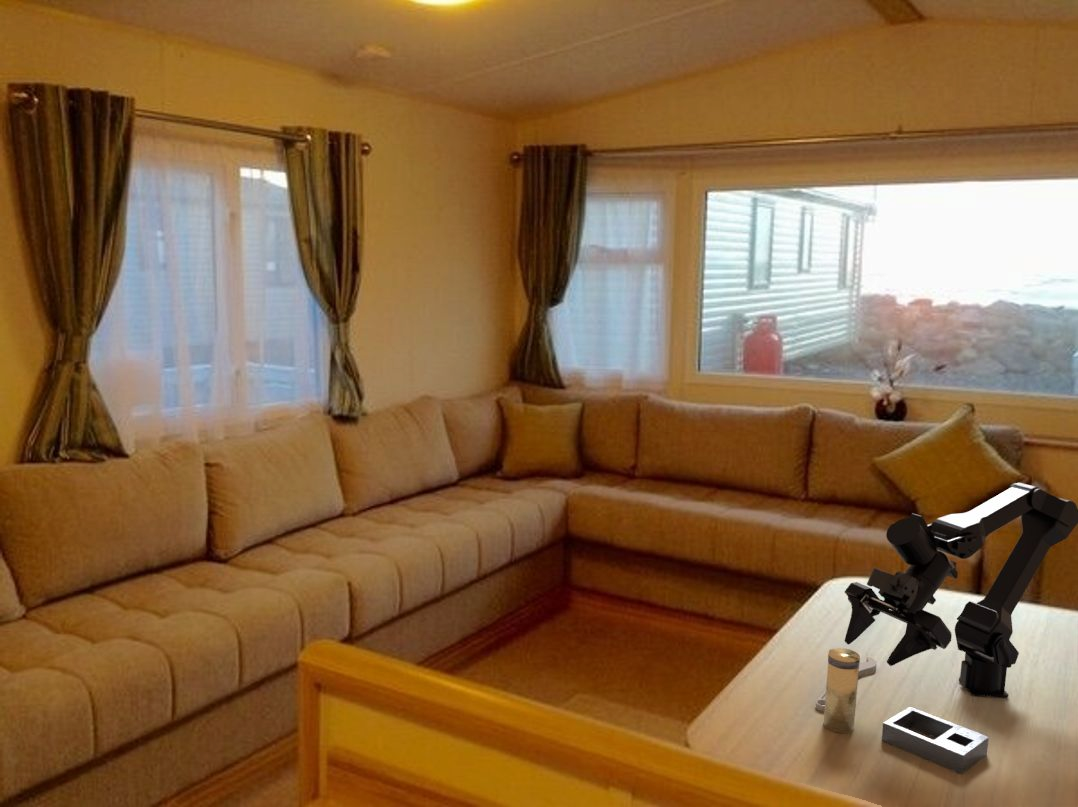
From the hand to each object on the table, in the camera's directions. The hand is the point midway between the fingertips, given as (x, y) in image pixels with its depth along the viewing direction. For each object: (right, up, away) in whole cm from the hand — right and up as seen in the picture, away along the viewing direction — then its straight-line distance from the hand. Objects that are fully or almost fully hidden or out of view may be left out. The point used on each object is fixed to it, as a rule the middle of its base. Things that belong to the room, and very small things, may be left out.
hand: (866, 653), depth 152 cm
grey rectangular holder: (+8, -13, -7) cm, 17 cm away
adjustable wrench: (+1, -10, +16) cm, 19 cm away
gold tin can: (-5, -12, 0) cm, 13 cm away
